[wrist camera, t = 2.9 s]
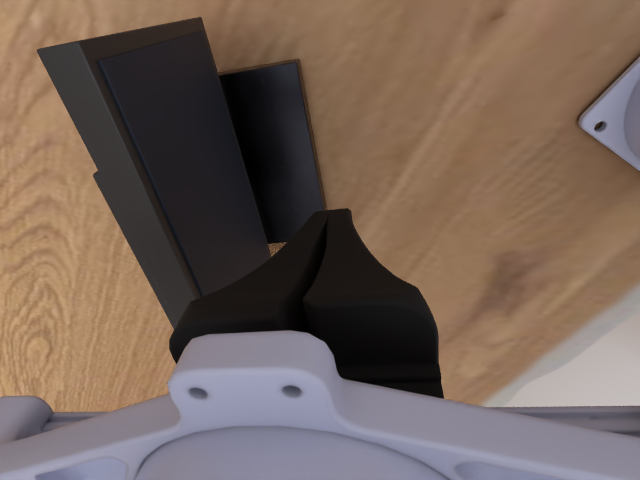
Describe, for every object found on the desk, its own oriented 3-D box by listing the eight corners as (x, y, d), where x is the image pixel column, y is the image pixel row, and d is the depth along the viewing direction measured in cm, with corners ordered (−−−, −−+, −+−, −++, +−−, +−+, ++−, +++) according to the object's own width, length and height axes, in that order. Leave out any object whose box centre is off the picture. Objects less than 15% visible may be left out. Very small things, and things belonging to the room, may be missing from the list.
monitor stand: (299, 58, 19) (285, 74, 15) (330, 229, 24) (324, 269, 21) (135, 87, 20) (90, 106, 17) (198, 242, 26) (173, 280, 22)
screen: (204, 16, 16) (81, 40, 9) (282, 287, 24) (248, 409, 17) (158, 25, 16) (7, 54, 10) (250, 289, 24) (205, 410, 18)
